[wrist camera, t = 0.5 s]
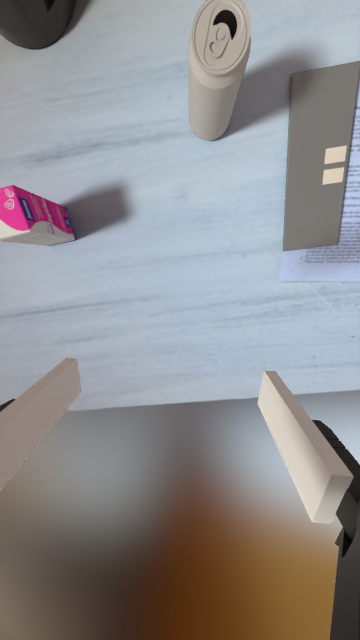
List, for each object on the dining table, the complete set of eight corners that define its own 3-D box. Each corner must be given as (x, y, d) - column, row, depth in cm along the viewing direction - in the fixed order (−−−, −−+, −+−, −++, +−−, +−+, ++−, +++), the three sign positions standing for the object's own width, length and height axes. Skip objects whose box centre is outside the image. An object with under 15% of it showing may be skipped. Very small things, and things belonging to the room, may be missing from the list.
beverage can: (238, 107, 29) (269, 12, 18) (215, 152, 31) (230, 92, 20) (202, 81, 29) (210, -35, 17) (181, 129, 31) (176, 53, 19)
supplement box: (78, 240, 37) (30, 233, 26) (49, 246, 37) (-8, 242, 26) (67, 206, 35) (11, 183, 24) (37, 213, 36) (-30, 194, 25)
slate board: (290, 77, 28) (293, 72, 27) (357, 64, 27) (361, 60, 27) (282, 251, 35) (284, 251, 35) (334, 245, 35) (337, 244, 34)
